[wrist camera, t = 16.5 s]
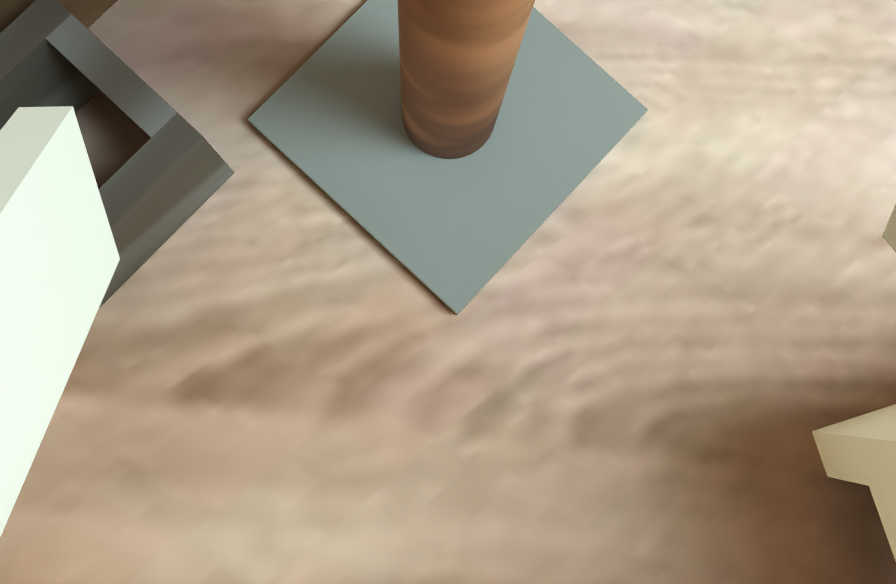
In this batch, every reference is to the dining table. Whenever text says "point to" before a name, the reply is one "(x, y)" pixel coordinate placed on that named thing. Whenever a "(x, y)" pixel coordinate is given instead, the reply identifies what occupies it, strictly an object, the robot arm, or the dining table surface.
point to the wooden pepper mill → (456, 69)
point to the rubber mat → (446, 180)
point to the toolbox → (96, 67)
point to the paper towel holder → (865, 459)
